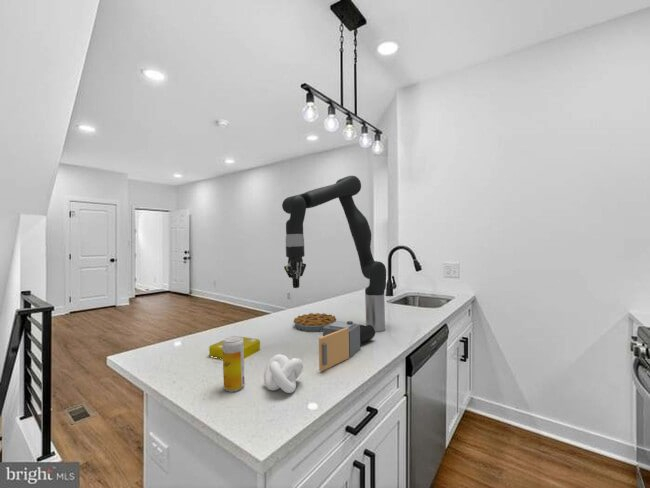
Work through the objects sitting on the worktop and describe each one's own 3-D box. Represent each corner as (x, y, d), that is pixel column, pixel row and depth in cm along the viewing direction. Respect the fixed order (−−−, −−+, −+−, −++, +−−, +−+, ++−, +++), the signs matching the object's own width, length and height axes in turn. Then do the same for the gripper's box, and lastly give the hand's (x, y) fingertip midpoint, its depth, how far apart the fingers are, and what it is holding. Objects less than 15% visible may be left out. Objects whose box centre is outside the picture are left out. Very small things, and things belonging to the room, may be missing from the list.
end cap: (361, 347, 125) (361, 331, 125) (348, 343, 130) (347, 327, 129) (375, 341, 132) (375, 325, 132) (362, 337, 137) (362, 322, 137)
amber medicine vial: (226, 383, 96) (225, 336, 96) (246, 382, 96) (244, 335, 96) (221, 393, 90) (220, 342, 89) (242, 392, 90) (241, 341, 90)
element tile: (207, 357, 119) (206, 345, 119) (234, 345, 132) (233, 334, 132) (236, 363, 112) (236, 350, 112) (262, 349, 126) (261, 338, 126)
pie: (311, 318, 172) (311, 309, 172) (344, 324, 159) (344, 314, 159) (284, 328, 155) (284, 318, 155) (319, 335, 142) (319, 324, 142)
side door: (319, 370, 103) (318, 338, 102) (347, 356, 114) (347, 327, 114) (323, 372, 101) (322, 339, 101) (352, 358, 113) (351, 328, 112)
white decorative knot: (303, 397, 86) (302, 366, 86) (260, 400, 85) (259, 368, 85) (303, 379, 98) (302, 351, 97) (265, 381, 97) (264, 353, 97)
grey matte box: (334, 345, 128) (334, 318, 128) (360, 349, 123) (359, 321, 122) (323, 353, 119) (322, 324, 119) (350, 358, 114) (349, 328, 114)
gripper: (296, 244, 132) (297, 284, 132) (277, 245, 120) (278, 289, 121) (311, 244, 128) (312, 285, 129) (293, 245, 117) (294, 290, 117)
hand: (296, 287), depth 125 cm, fingers closed
